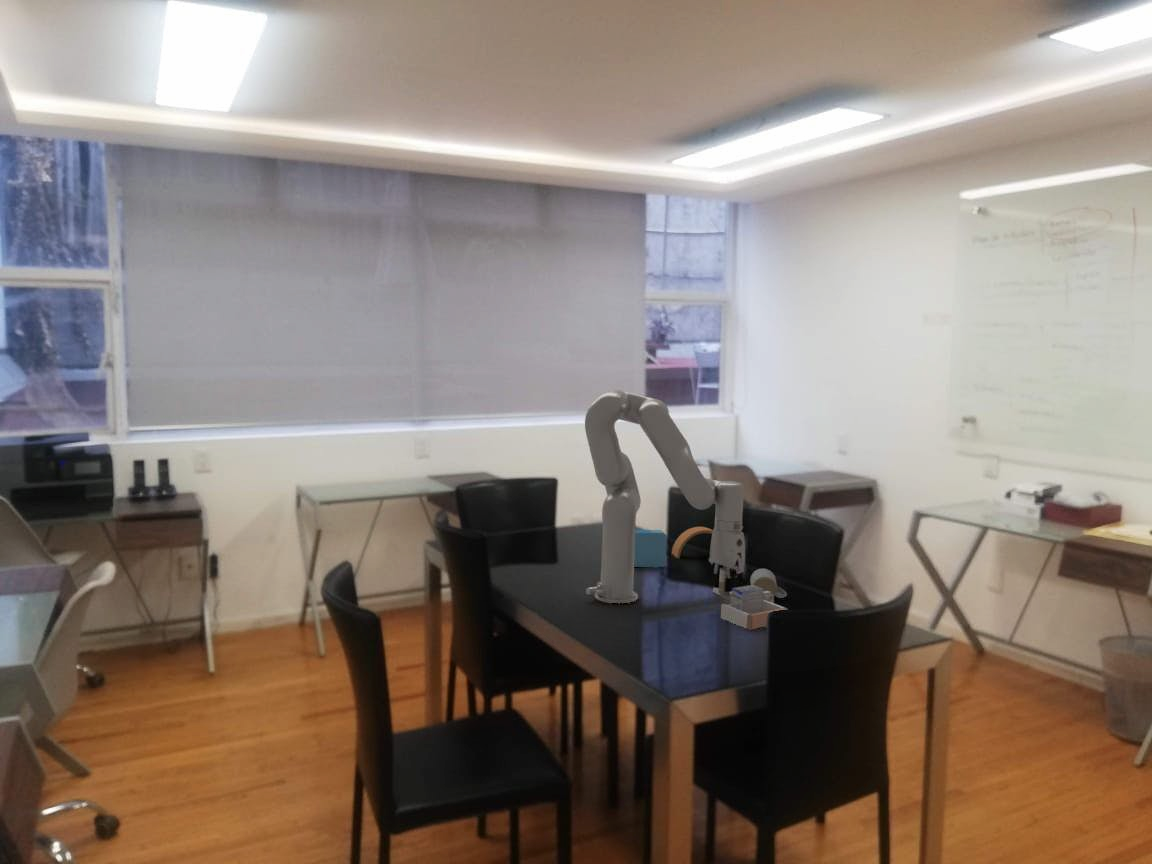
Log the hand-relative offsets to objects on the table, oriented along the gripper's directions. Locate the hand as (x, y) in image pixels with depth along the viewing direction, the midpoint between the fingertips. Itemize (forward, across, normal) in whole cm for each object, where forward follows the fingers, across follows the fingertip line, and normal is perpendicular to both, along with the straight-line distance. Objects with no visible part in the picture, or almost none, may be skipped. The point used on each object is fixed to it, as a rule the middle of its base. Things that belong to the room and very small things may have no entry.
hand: (724, 588), depth 247 cm
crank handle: (+5, -4, -3) cm, 7 cm away
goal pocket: (+6, -12, 0) cm, 13 cm away
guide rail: (+6, +3, -9) cm, 11 cm away
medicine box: (+6, -10, +1) cm, 12 cm away
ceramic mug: (+6, +3, -20) cm, 22 cm away
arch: (+6, +50, -35) cm, 61 cm away
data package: (+6, +46, -8) cm, 47 cm away
